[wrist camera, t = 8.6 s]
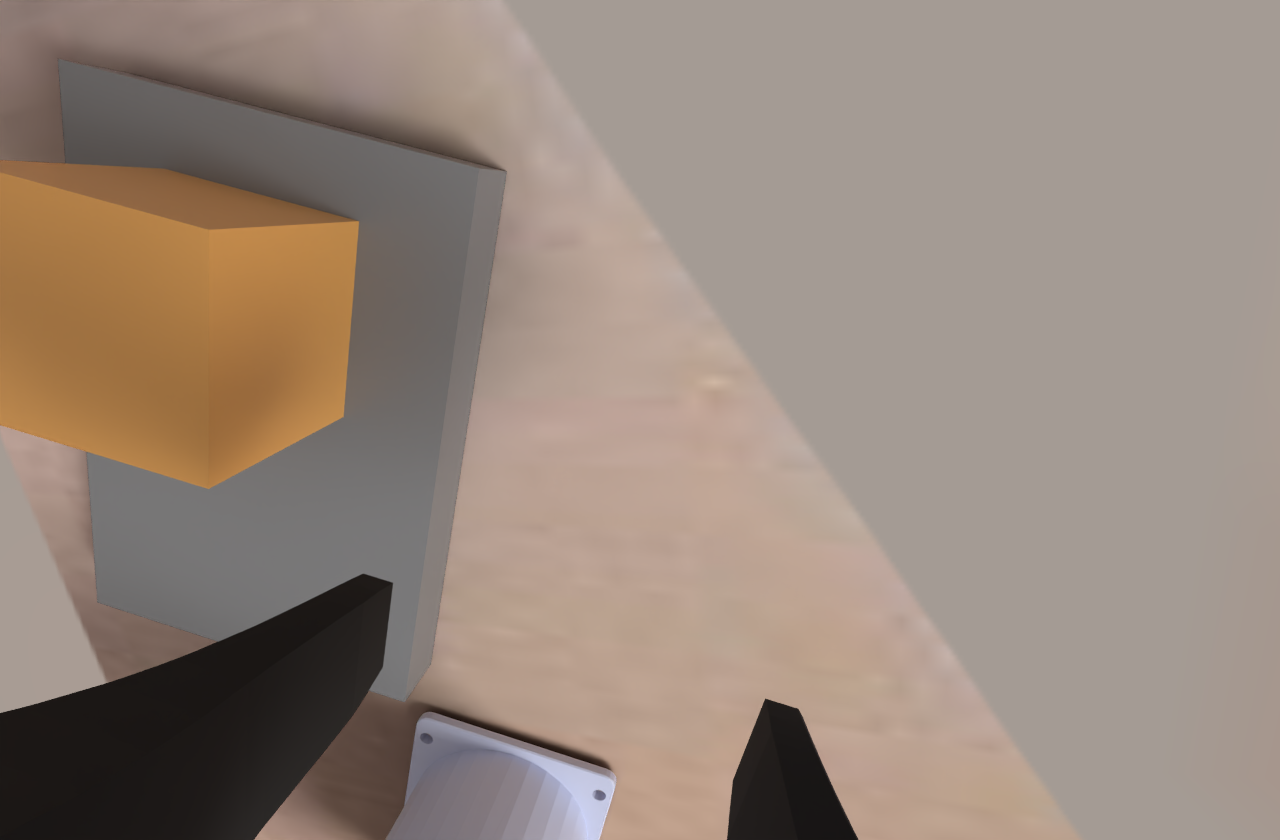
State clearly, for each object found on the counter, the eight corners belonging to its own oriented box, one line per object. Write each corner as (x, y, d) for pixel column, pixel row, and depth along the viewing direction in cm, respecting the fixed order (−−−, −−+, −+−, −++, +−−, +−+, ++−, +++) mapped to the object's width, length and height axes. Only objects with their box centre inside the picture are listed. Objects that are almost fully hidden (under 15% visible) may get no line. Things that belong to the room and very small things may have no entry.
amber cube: (343, 417, 20) (208, 489, 15) (168, 365, 20) (-19, 419, 15) (359, 221, 18) (208, 229, 13) (163, 168, 18) (-55, 157, 13)
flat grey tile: (430, 664, 25) (351, 778, 20) (145, 572, 26) (3, 660, 21) (506, 171, 18) (418, 161, 14) (125, 72, 19) (-86, 29, 14)
